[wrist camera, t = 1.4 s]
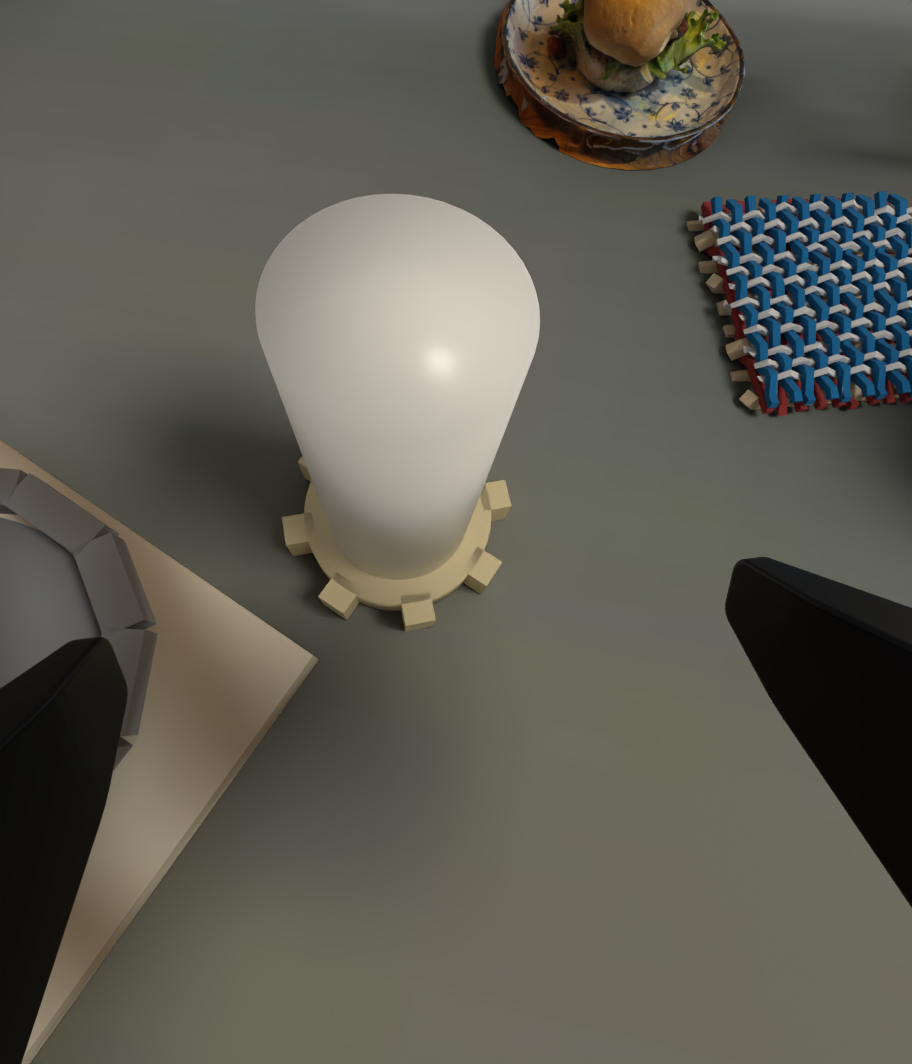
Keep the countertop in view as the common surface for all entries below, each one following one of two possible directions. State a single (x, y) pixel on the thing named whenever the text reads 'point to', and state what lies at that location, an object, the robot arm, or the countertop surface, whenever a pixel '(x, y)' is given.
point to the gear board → (134, 694)
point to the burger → (620, 76)
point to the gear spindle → (397, 393)
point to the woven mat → (813, 297)
